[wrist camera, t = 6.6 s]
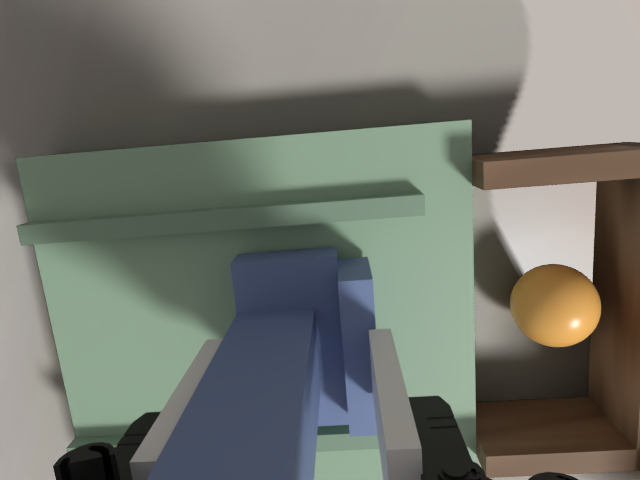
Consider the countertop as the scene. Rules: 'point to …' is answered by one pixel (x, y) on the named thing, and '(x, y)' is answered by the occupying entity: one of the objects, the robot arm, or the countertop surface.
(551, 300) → the ball
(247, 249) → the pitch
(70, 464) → the robot arm
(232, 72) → the countertop surface
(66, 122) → the countertop surface
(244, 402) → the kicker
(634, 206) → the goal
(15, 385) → the countertop surface
